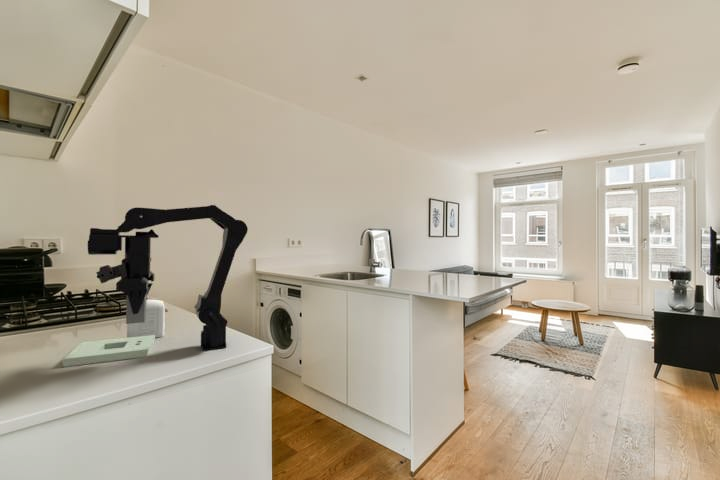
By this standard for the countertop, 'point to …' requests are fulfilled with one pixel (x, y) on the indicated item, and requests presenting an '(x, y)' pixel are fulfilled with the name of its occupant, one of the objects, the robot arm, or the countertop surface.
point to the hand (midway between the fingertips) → (136, 312)
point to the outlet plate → (110, 350)
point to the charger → (136, 317)
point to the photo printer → (150, 321)
